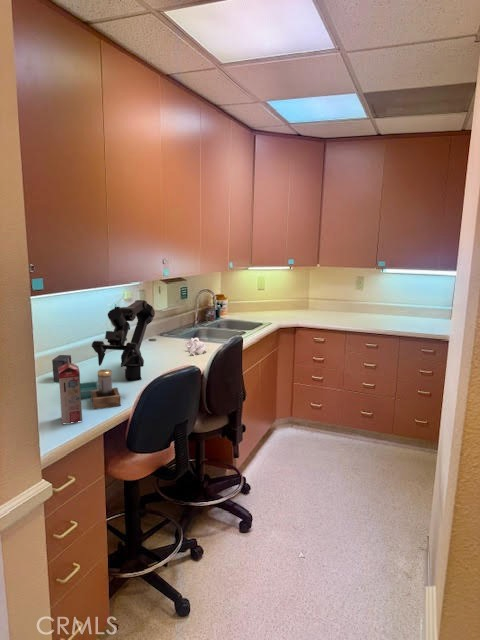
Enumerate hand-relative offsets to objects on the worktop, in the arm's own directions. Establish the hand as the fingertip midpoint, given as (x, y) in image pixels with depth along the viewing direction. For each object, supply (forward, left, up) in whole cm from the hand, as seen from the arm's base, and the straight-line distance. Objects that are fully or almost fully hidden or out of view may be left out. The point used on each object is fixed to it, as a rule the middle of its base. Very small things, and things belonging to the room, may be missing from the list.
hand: (110, 366), depth 173 cm
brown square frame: (+3, +5, -13) cm, 15 cm away
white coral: (-53, -54, -14) cm, 77 cm away
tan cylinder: (+3, +5, -13) cm, 15 cm away
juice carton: (+16, +17, -14) cm, 27 cm away
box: (+18, -30, -14) cm, 38 cm away
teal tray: (+10, -8, -13) cm, 19 cm away
